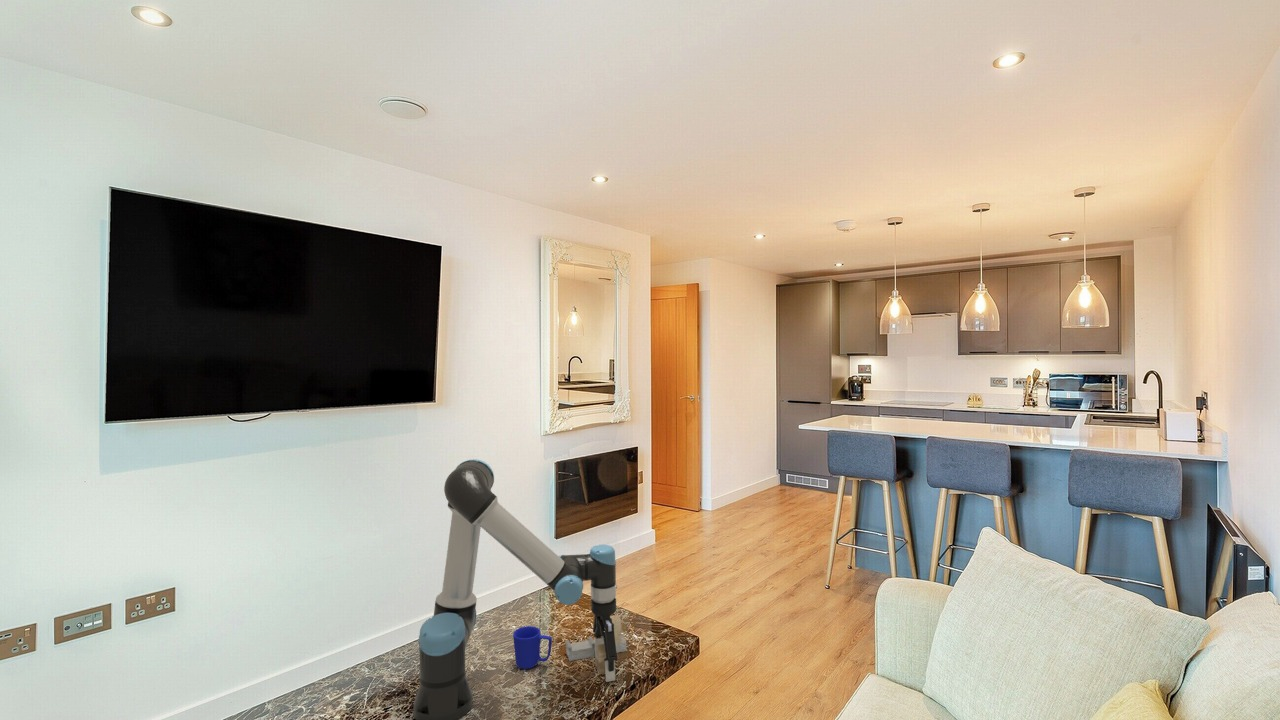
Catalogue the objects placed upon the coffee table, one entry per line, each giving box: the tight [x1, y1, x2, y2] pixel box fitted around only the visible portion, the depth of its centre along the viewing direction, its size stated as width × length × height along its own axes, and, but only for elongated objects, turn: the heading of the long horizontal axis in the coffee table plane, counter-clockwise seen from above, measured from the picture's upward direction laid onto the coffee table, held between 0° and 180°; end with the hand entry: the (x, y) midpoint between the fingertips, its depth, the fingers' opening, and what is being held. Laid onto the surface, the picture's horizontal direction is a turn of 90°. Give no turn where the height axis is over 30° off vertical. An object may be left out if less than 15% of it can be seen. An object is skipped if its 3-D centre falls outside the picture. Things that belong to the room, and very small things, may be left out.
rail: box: [564, 614, 627, 662], centre depth 187 cm, size 19×5×10 cm, turn 108°
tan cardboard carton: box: [595, 644, 606, 675], centre depth 176 cm, size 5×4×7 cm
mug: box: [512, 625, 553, 670], centre depth 179 cm, size 8×12×10 cm
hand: (604, 669), depth 176 cm, fingers open, 12 cm apart
